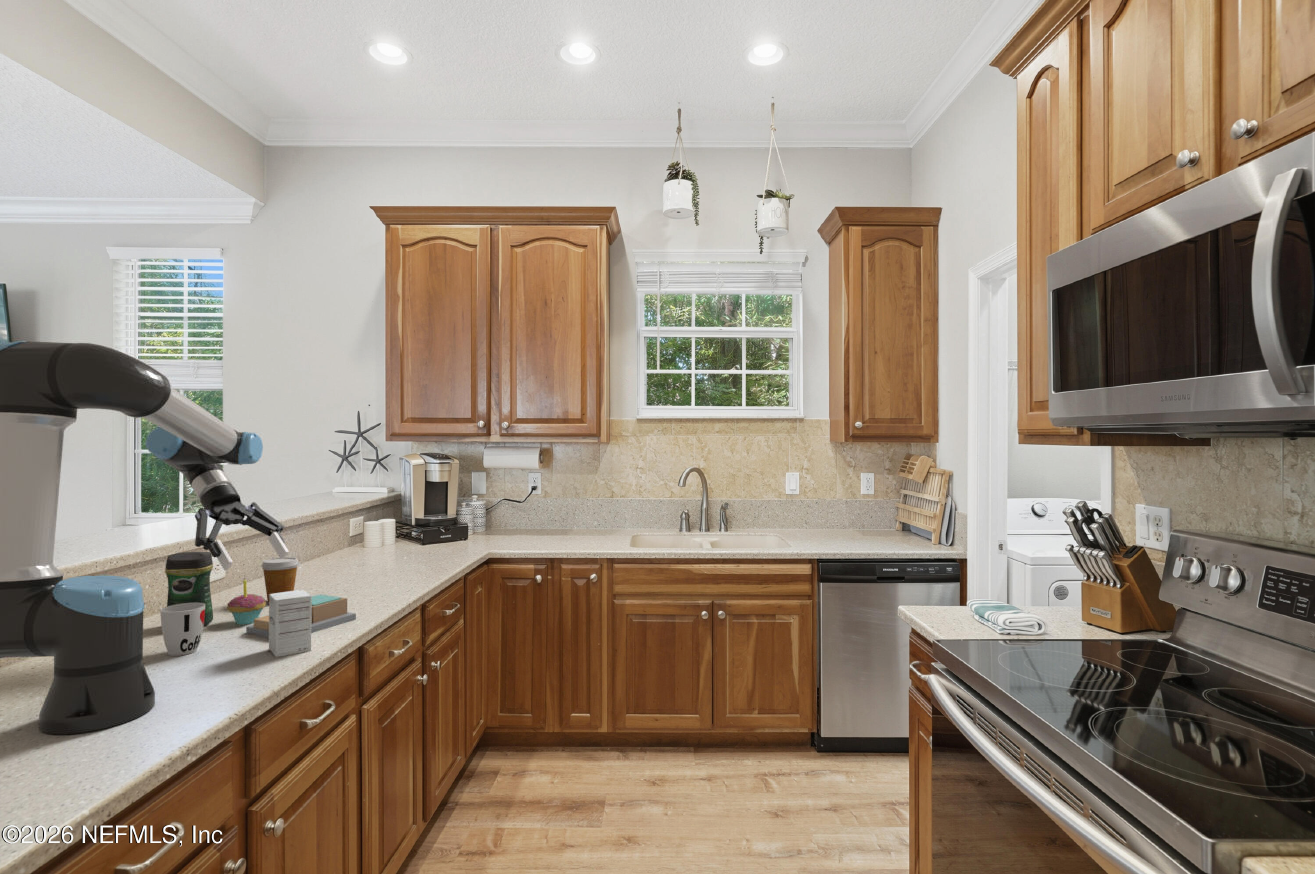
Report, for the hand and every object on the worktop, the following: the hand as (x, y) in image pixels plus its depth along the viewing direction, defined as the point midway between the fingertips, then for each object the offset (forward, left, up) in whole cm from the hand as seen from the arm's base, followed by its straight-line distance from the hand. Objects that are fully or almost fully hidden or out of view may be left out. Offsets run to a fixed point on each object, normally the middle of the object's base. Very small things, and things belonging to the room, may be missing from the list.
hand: (258, 560), depth 152 cm
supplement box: (-1, -12, -19) cm, 23 cm away
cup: (-12, +8, -19) cm, 24 cm away
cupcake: (+9, +18, -19) cm, 28 cm away
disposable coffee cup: (+27, +30, -19) cm, 45 cm away
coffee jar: (+1, +28, -19) cm, 34 cm away
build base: (+13, +2, -19) cm, 23 cm away
